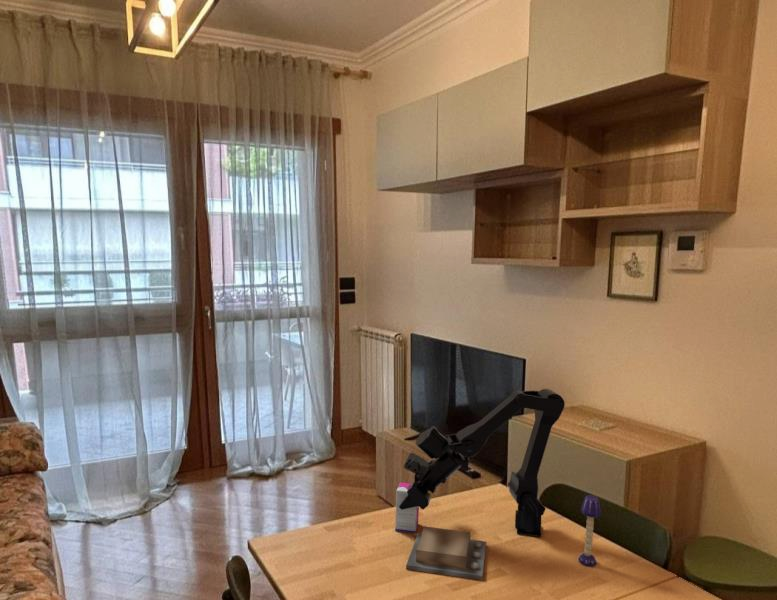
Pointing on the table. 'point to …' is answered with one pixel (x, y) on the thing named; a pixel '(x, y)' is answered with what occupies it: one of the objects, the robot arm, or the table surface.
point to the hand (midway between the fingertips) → (402, 503)
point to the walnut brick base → (450, 569)
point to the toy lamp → (589, 528)
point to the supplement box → (405, 512)
